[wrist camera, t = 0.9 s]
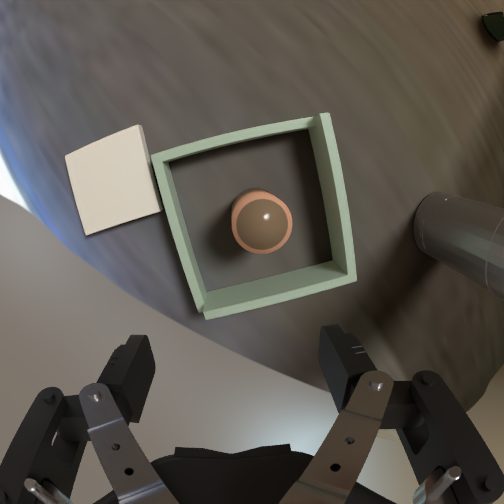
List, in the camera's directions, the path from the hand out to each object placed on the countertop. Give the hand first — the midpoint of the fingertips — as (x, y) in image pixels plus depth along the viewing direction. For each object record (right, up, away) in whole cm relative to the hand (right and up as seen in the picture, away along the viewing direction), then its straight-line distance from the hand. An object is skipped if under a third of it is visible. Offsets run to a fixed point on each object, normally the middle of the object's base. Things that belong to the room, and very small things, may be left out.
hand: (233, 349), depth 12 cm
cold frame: (+1, +9, +19) cm, 21 cm away
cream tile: (-15, +13, +17) cm, 26 cm away
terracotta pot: (+1, +9, +20) cm, 21 cm away
